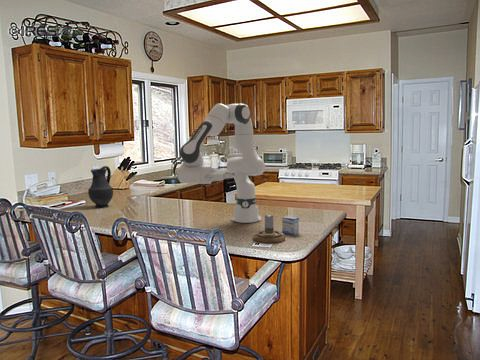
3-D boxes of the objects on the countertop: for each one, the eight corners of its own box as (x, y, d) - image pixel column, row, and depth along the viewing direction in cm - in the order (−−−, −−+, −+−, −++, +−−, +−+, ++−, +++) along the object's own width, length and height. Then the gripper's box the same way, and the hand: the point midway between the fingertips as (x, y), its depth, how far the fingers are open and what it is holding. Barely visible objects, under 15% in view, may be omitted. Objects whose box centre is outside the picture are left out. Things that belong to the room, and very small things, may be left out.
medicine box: (281, 233, 217) (281, 217, 216) (286, 231, 220) (286, 215, 219) (294, 235, 212) (294, 219, 211) (299, 233, 216) (299, 217, 215)
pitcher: (84, 208, 298) (81, 167, 294) (101, 203, 317) (99, 165, 314) (104, 209, 293) (102, 168, 289) (121, 204, 312) (119, 165, 309)
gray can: (263, 233, 209) (263, 214, 207) (275, 233, 208) (275, 214, 207) (262, 236, 202) (262, 216, 201) (275, 236, 202) (275, 216, 200)
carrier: (254, 234, 214) (254, 229, 214) (284, 235, 213) (284, 229, 212) (252, 243, 198) (252, 237, 198) (285, 243, 197) (285, 237, 196)
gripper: (203, 171, 200) (231, 171, 199) (210, 167, 220) (235, 167, 219) (203, 184, 201) (231, 183, 199) (210, 179, 221) (236, 179, 220)
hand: (233, 175), depth 209 cm, fingers open, 8 cm apart
